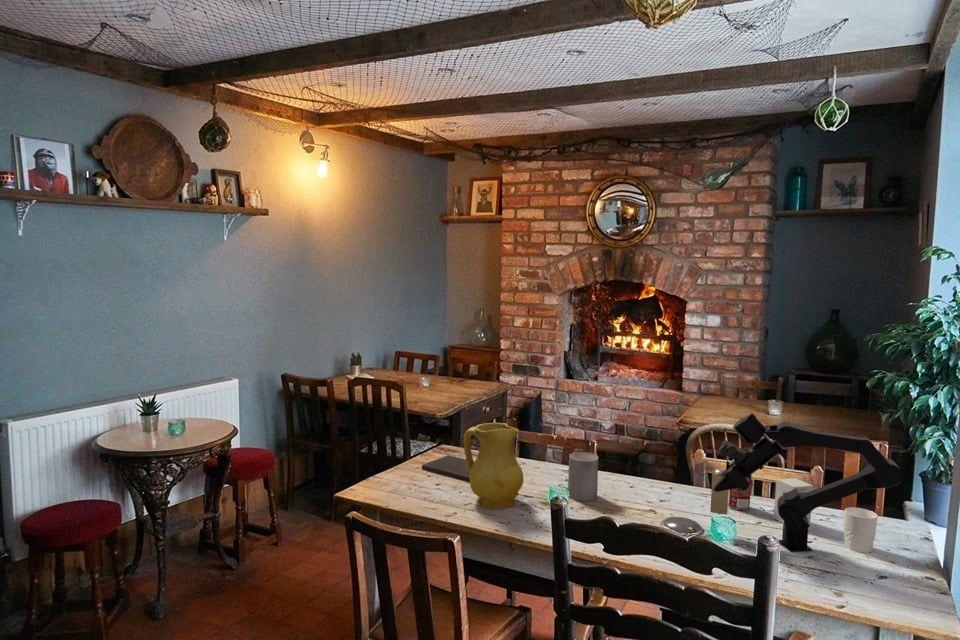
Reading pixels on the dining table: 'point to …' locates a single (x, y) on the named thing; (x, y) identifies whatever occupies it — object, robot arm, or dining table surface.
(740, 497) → the soda can
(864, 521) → the white cup
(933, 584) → the dining table surface
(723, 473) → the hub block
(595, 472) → the pillar candle
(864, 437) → the robot arm
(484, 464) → the pitcher
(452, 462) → the hardcover book
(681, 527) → the plate
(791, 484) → the supplement box
